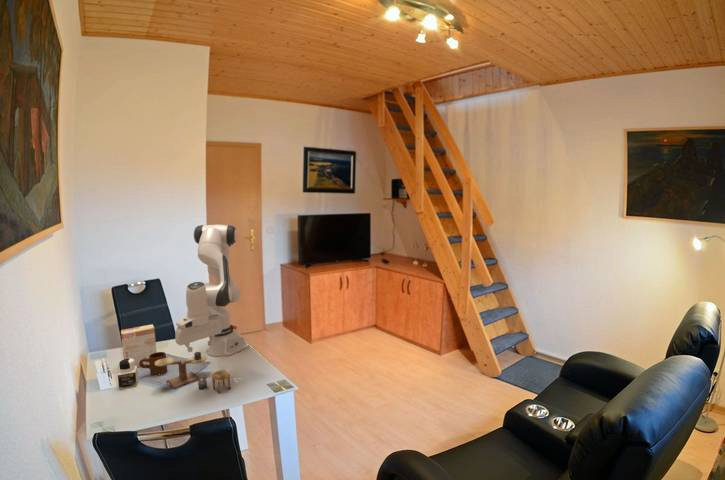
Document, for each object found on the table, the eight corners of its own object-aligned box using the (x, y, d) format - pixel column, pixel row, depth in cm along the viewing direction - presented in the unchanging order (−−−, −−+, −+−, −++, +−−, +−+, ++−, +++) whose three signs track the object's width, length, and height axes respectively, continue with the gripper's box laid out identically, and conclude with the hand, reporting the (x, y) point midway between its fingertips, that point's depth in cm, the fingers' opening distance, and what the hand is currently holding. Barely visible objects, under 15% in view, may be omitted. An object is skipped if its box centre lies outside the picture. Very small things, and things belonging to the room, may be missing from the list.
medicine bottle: (118, 389, 182) (116, 364, 181) (121, 382, 189) (118, 358, 187) (136, 386, 185) (134, 361, 184) (138, 379, 192) (136, 355, 190)
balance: (202, 370, 201) (200, 345, 199) (211, 375, 195) (209, 350, 193) (153, 387, 183) (151, 361, 182) (161, 394, 178) (159, 367, 176)
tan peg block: (224, 384, 185) (223, 369, 184) (231, 388, 181) (230, 373, 180) (212, 389, 181) (211, 373, 180) (219, 393, 177) (218, 377, 176)
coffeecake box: (156, 358, 216) (153, 323, 213) (157, 363, 210) (154, 327, 207) (124, 365, 207) (120, 329, 205) (124, 370, 201) (121, 333, 199)
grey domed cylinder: (204, 385, 185) (203, 375, 185) (208, 387, 183) (207, 378, 182) (197, 388, 183) (196, 378, 182) (200, 390, 180) (200, 381, 180)
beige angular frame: (270, 377, 193) (269, 375, 193) (238, 390, 180) (238, 388, 180) (241, 362, 209) (241, 361, 209) (210, 374, 197) (210, 372, 197)
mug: (141, 380, 191) (139, 361, 189) (139, 374, 197) (137, 356, 196) (168, 373, 198) (167, 355, 197) (165, 368, 204) (164, 350, 203)
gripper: (216, 311, 188) (218, 339, 190) (172, 323, 173) (174, 353, 175) (223, 314, 184) (225, 343, 186) (178, 326, 169) (181, 357, 171)
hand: (200, 348), depth 180 cm, fingers open, 8 cm apart
